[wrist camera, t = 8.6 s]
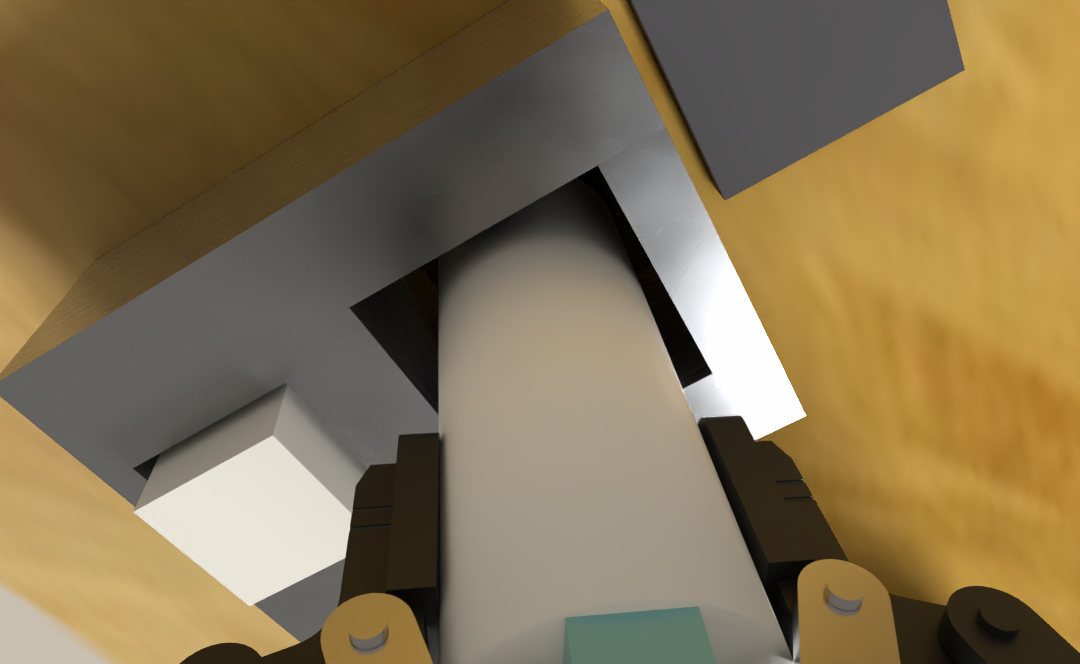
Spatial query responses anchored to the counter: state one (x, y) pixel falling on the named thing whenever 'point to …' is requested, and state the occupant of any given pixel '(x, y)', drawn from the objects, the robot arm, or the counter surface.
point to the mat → (791, 72)
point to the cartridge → (577, 463)
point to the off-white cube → (256, 496)
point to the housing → (385, 264)
